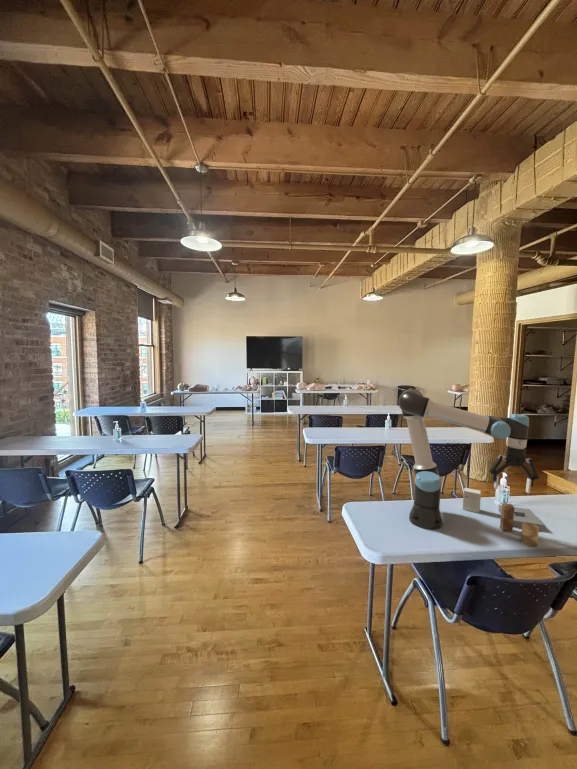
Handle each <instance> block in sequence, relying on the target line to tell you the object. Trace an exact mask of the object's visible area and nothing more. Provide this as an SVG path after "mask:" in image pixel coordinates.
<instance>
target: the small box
mask: <svg viewBox="0 0 577 769" xmlns="http://www.w3.org/2000/svg"><path fill="white" fill-rule="evenodd" d="M481 496H482V490H481V489H474V488H469V487H464V488H463V497H462V498H463V499H462V510H463V511H468V512H473V513H477V514H480V510H481Z"/></svg>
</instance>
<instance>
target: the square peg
mask: <svg viewBox="0 0 577 769" xmlns="http://www.w3.org/2000/svg"><path fill="white" fill-rule="evenodd" d="M501 505H502V508H501V513H500V524H499V525H500V526H499V528H500V530H501V531H502V532H506V533H513V530H514V527H513V519H514V507H515V506H513V504H512V503H504V502H502V503H501Z"/></svg>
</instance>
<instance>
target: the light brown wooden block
mask: <svg viewBox="0 0 577 769" xmlns="http://www.w3.org/2000/svg"><path fill="white" fill-rule="evenodd" d="M520 534H521V536H520V542H521V544H523V545H525V546H528V547H531V548H534V547H535V548H536V547H538V545H539V544H538V543H539V527H538V526H537V525H535V524H532V523H528V522H523V523H522V528H521V533H520Z"/></svg>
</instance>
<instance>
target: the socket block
mask: <svg viewBox="0 0 577 769" xmlns="http://www.w3.org/2000/svg"><path fill="white" fill-rule="evenodd" d="M513 507H514V519H513V528H514V527H515V528H520V529H522V523H523V522H528V523H532V524H535V525H537V526H538V527H539V531H540V532H544V530H545V524H544V523H543V522H542V521H541V520H540V519H539V517H537V515H536V514H535V513H534V512H533V511H532V510H531V508H522V507H515V506H513ZM501 508H502V504H499V505H498V511H499V513H500V514H501Z"/></svg>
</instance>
